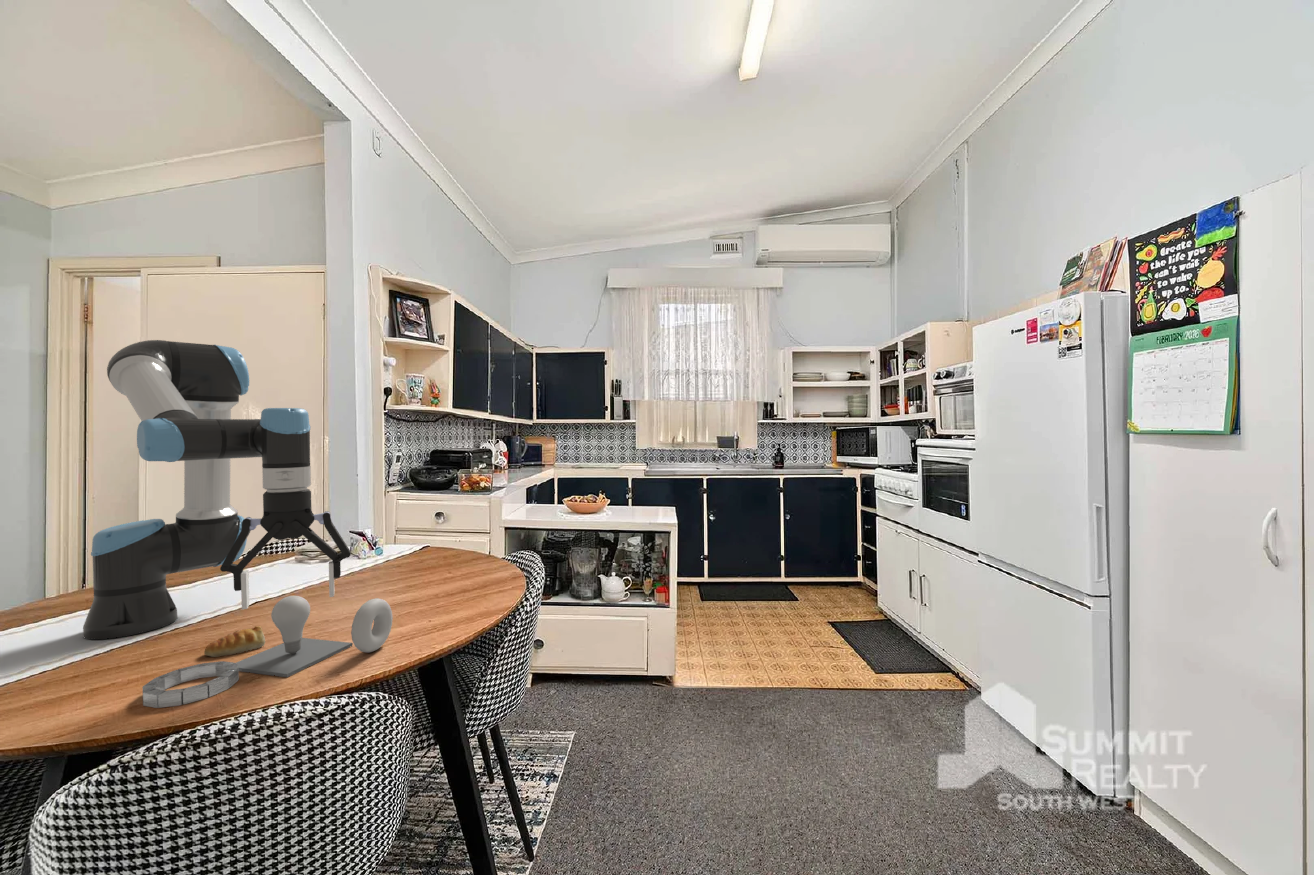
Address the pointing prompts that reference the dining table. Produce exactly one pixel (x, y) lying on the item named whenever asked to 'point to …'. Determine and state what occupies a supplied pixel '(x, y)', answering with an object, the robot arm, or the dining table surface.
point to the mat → (291, 657)
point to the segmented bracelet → (165, 698)
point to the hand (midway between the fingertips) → (290, 601)
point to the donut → (363, 624)
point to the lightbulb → (291, 620)
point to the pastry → (236, 642)
